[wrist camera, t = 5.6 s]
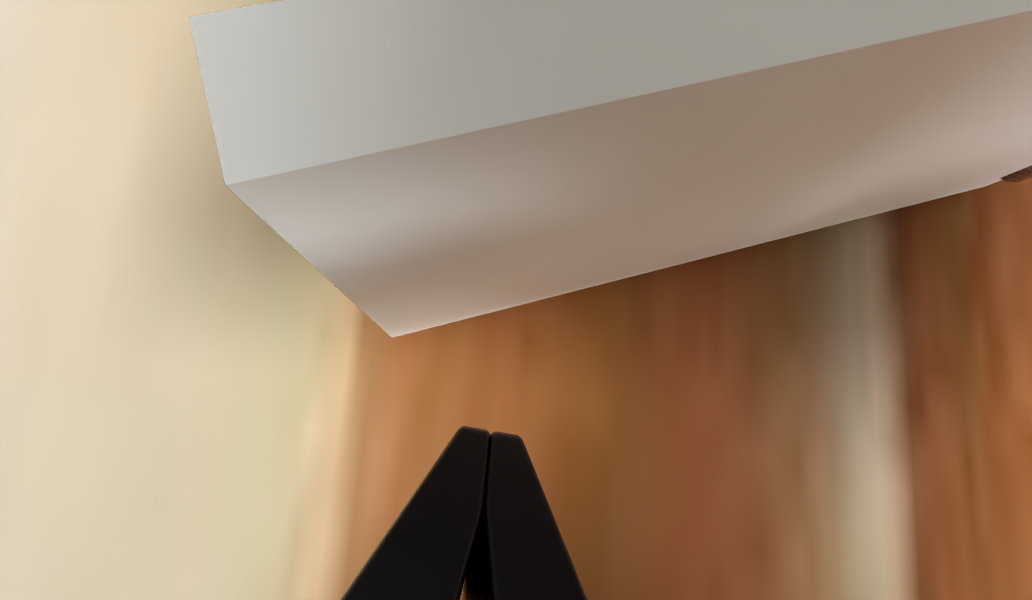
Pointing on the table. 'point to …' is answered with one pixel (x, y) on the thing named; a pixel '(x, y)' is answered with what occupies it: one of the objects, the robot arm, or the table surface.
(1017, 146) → the cabinet door
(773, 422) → the table surface
